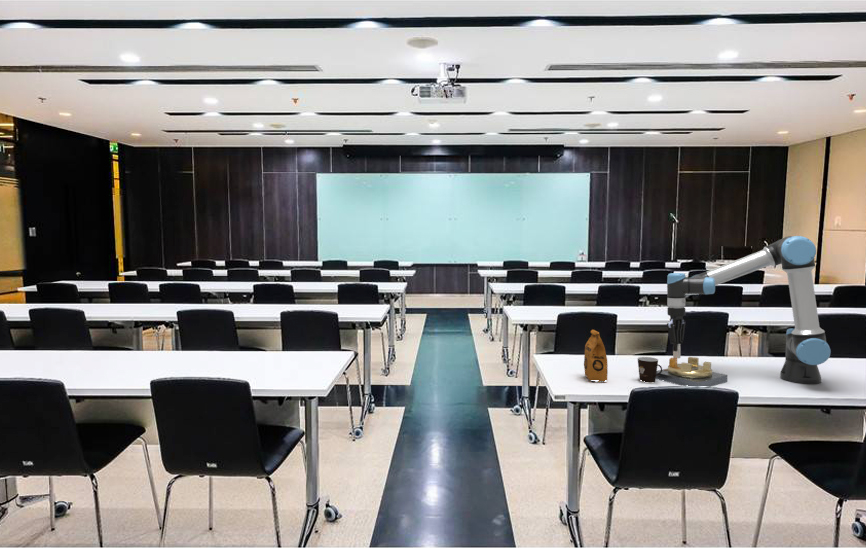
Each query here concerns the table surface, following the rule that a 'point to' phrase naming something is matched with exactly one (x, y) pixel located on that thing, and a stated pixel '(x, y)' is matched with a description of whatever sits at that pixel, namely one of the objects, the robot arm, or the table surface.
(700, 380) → the housing
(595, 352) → the coffee package
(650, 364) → the coffee mug
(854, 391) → the table surface
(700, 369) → the lathe chuck
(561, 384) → the table surface
